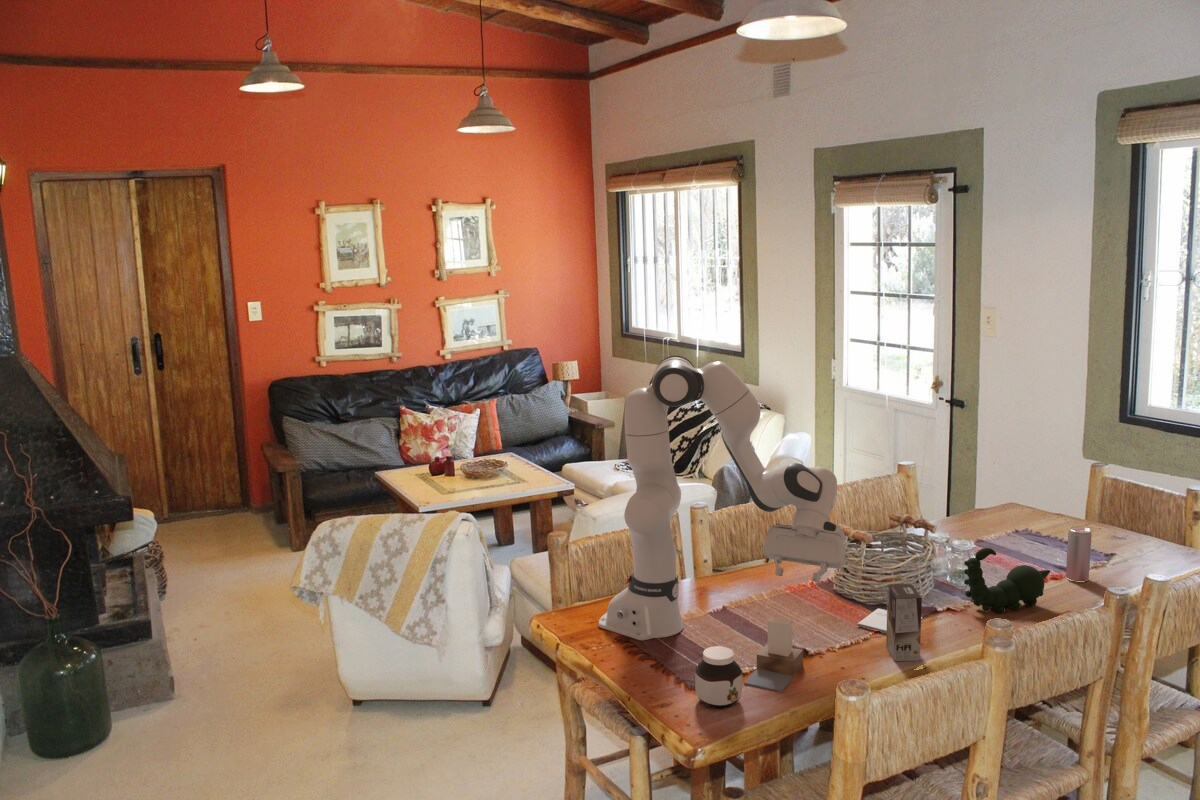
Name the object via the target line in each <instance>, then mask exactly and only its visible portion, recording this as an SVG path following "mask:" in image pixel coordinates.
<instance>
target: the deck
mask: <svg viewBox="0 0 1200 800" xmlns="http://www.w3.org/2000/svg"><path fill="white" fill-rule="evenodd" d="M803 666H804V650H803V649H800V648H794V647H792V653H791V654H790V655H789V656H788V657H787V656H782V655H777V654H772V653H768V642H767V643H766V644H765V645H764V646H763V647H762V648H761V649H760V650H759V652H757V653H756V669H761V670H766V671H771V672H776V673H780V674H785V675H790V676H793V678H795V676H796V675H797V674H798V673H799V671H800V670H801V669H802V668H803Z"/></svg>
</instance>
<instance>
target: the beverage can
mask: <svg viewBox="0 0 1200 800" xmlns="http://www.w3.org/2000/svg"><path fill="white" fill-rule="evenodd" d="M1092 536H1093V535H1092V530H1091V529H1090V528H1088V527H1085V526H1076V525H1075V526H1071V527H1069V530H1068V533H1067V547H1066V548H1067V551H1066V552H1067V553H1066V563H1065V564H1066V566H1065V569H1066V570H1065V577H1067V578H1069V579H1071V580H1074V581H1086V580H1088V581H1089V579H1090V567H1091V565H1090V563H1091V549H1092V538H1093V537H1092ZM1067 578H1066V579H1067Z"/></svg>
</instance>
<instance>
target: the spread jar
mask: <svg viewBox="0 0 1200 800" xmlns="http://www.w3.org/2000/svg"><path fill="white" fill-rule="evenodd" d="M742 670H743V669H742V668H741V666H740V665H739V663H738V662H737V661H736V660H735V653H734V651H733V650H732V649H731V648H729V647H726V646H718V645H717V646H709V647H707V648H706V649H704V650H703V652H702V659H701V661H700V662H699V663H698V665H697V666H696V668H695V673H694V674H695V675H694V687H695V693H696V696H697V697H698V699H699V700H700V701H701V703H703V704H704V705H706V706H707V707H709V708H712V709H715V710H717V709H718V710H719V709H720V710H723V709H728V708H731V707H732V706H734V705H735V704H736V703H737V702H738V701H739V700H740V698H741V697H742V694H743V672H742Z"/></svg>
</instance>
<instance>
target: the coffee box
mask: <svg viewBox="0 0 1200 800" xmlns="http://www.w3.org/2000/svg"><path fill="white" fill-rule="evenodd" d="M886 588H887V590H886V591H887V593H886V594H887V596H886V610H887V634H885V635H886V636H885V637H886V639H885V640H886V641H885V642H886V643H885V647H886V648H887V650H888V652H889V654H890V655H891V657H892V659H893V660H894V662H912V661H913V662H914V661H915V662H919V661H920V660H921V638H922V634H921V632H922V608H923V607H922V606H923V604H922V603H923V601H922V599H923V598H922V596H921V595H920V593H919V592H918V590H917V589H916V588H915V586H914V585H913V584H909V583H907V584H905V583H904V584H887V587H886Z"/></svg>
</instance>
